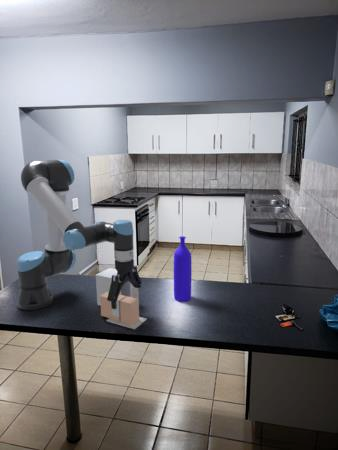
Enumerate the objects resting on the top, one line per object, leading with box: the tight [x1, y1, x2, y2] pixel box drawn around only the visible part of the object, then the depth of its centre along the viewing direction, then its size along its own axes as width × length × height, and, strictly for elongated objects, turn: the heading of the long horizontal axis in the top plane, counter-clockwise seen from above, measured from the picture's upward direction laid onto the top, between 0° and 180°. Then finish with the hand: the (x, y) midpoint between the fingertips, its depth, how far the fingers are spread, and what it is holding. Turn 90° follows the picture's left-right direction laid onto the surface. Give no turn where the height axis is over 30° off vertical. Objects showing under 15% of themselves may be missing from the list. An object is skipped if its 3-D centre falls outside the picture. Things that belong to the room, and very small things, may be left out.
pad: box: [106, 316, 148, 330], centre depth 140 cm, size 14×9×1 cm, turn 61°
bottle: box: [173, 236, 192, 303], centre depth 156 cm, size 8×8×30 cm
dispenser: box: [95, 267, 133, 307], centre depth 154 cm, size 13×10×14 cm
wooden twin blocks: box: [100, 292, 140, 325], centre depth 140 cm, size 16×5×9 cm, turn 61°
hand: (125, 308), depth 139 cm, fingers open, 13 cm apart
